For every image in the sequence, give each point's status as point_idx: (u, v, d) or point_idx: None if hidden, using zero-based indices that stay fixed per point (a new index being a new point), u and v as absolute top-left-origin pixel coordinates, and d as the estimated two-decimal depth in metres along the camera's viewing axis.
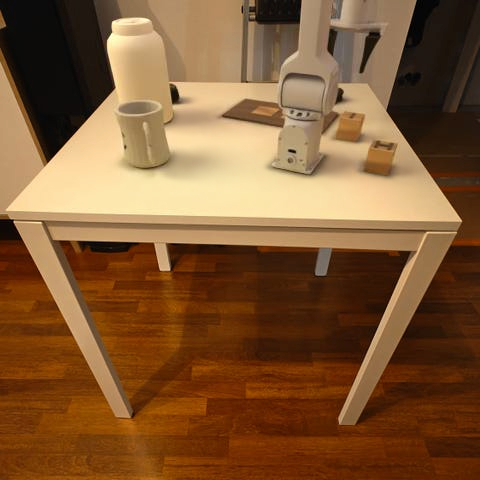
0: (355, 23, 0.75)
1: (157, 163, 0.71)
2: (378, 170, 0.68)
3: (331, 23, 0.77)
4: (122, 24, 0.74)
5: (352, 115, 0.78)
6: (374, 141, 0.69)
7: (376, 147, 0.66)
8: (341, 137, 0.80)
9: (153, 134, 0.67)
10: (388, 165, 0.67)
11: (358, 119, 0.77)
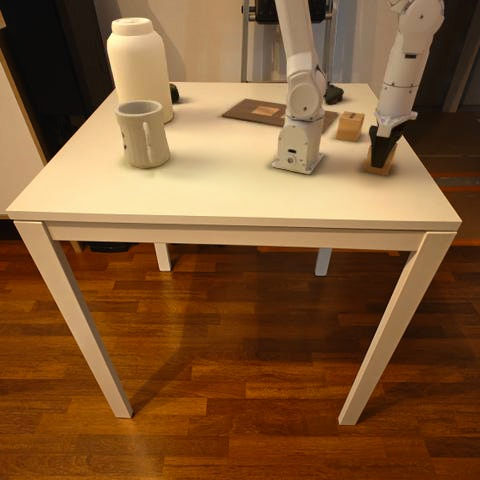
0: (376, 110, 0.63)
1: (157, 163, 0.71)
2: (378, 170, 0.68)
3: None
4: (122, 24, 0.74)
5: (352, 115, 0.78)
6: None
7: None
8: (341, 137, 0.80)
9: (153, 134, 0.67)
10: (388, 165, 0.67)
11: (358, 119, 0.77)
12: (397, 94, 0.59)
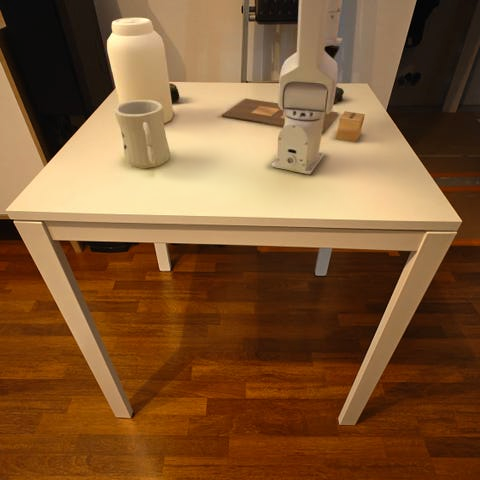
0: None
1: (157, 163, 0.71)
2: None
3: None
4: (122, 24, 0.74)
5: (352, 115, 0.78)
6: None
7: None
8: (341, 137, 0.80)
9: (153, 134, 0.67)
10: None
11: (358, 119, 0.77)
12: None
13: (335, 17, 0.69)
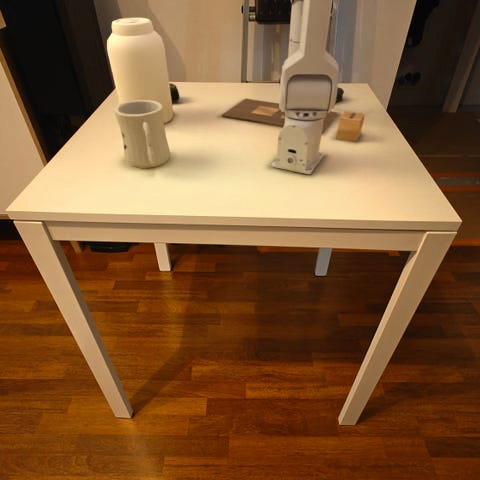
0: None
1: (157, 163, 0.71)
2: None
3: None
4: (122, 24, 0.74)
5: (352, 115, 0.78)
6: None
7: None
8: (341, 137, 0.80)
9: (153, 134, 0.67)
10: None
11: (358, 119, 0.77)
12: (298, 48, 0.77)
13: None
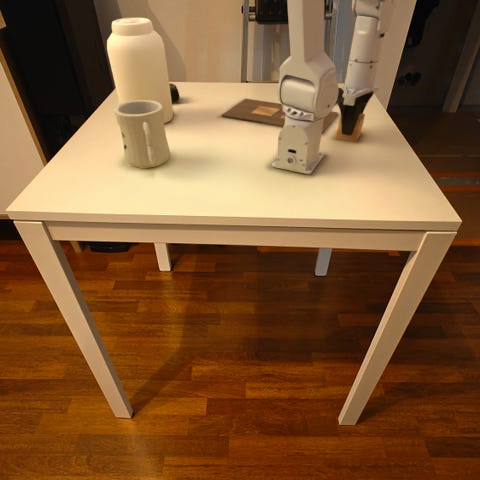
0: (344, 84, 0.74)
1: (157, 163, 0.71)
2: None
3: None
4: (122, 24, 0.74)
5: None
6: None
7: None
8: (341, 137, 0.80)
9: (153, 134, 0.67)
10: None
11: (358, 119, 0.77)
12: (360, 69, 0.70)
13: (374, 67, 0.70)
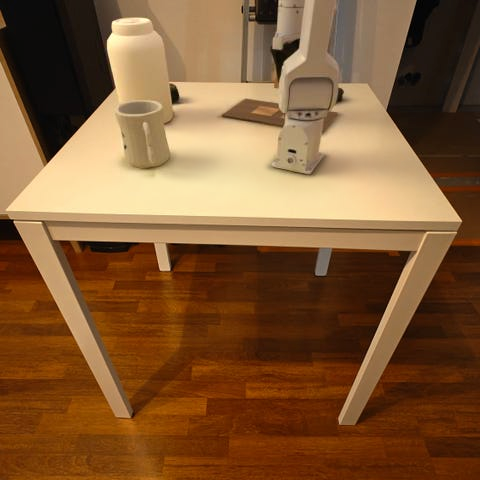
0: (276, 31, 0.77)
1: (157, 163, 0.71)
2: None
3: None
4: (122, 24, 0.74)
5: None
6: None
7: None
8: (278, 86, 0.83)
9: (153, 134, 0.67)
10: None
11: None
12: (287, 14, 0.73)
13: (300, 12, 0.73)
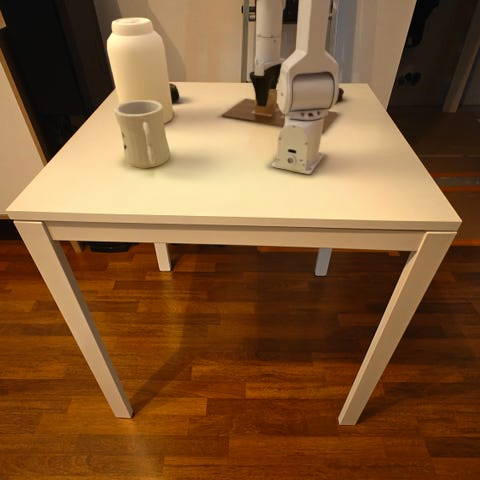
0: (255, 58, 0.84)
1: (157, 163, 0.71)
2: None
3: None
4: (122, 24, 0.74)
5: None
6: None
7: None
8: (259, 111, 0.90)
9: (153, 134, 0.67)
10: None
11: (271, 93, 0.87)
12: (265, 43, 0.79)
13: (277, 41, 0.80)
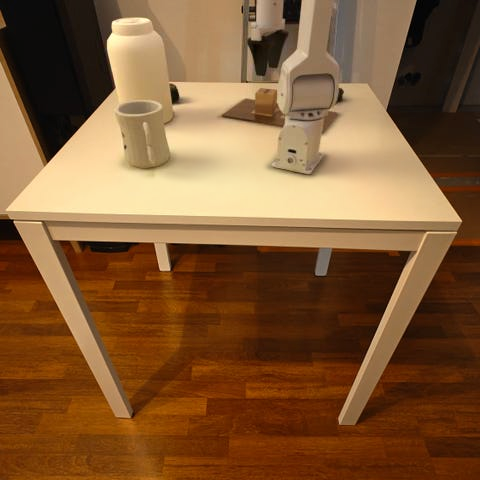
0: (282, 23, 0.79)
1: (157, 163, 0.71)
2: None
3: (268, 29, 0.76)
4: (122, 24, 0.74)
5: (266, 91, 0.89)
6: None
7: None
8: (259, 111, 0.90)
9: (153, 134, 0.67)
10: None
11: (271, 93, 0.87)
12: None
13: None
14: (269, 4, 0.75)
